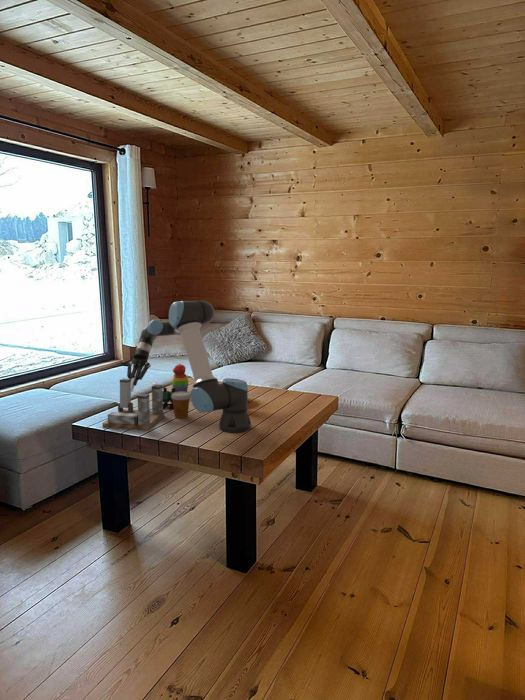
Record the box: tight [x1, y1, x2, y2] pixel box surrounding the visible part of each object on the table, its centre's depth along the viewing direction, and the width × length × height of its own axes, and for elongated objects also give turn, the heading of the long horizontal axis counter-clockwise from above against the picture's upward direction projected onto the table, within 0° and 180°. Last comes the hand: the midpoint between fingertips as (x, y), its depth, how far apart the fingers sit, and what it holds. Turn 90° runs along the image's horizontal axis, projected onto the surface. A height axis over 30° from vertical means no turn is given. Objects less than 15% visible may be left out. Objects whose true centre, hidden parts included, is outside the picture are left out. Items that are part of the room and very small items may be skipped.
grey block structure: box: [101, 384, 165, 431], centre depth 233 cm, size 23×22×16 cm
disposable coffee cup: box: [171, 391, 191, 420], centre depth 242 cm, size 10×10×12 cm
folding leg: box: [119, 378, 132, 409], centre depth 243 cm, size 4×4×14 cm
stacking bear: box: [171, 363, 189, 392], centre depth 282 cm, size 11×10×18 cm
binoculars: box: [162, 386, 176, 410], centre depth 256 cm, size 9×11×10 cm
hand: (130, 390), depth 249 cm, fingers closed
